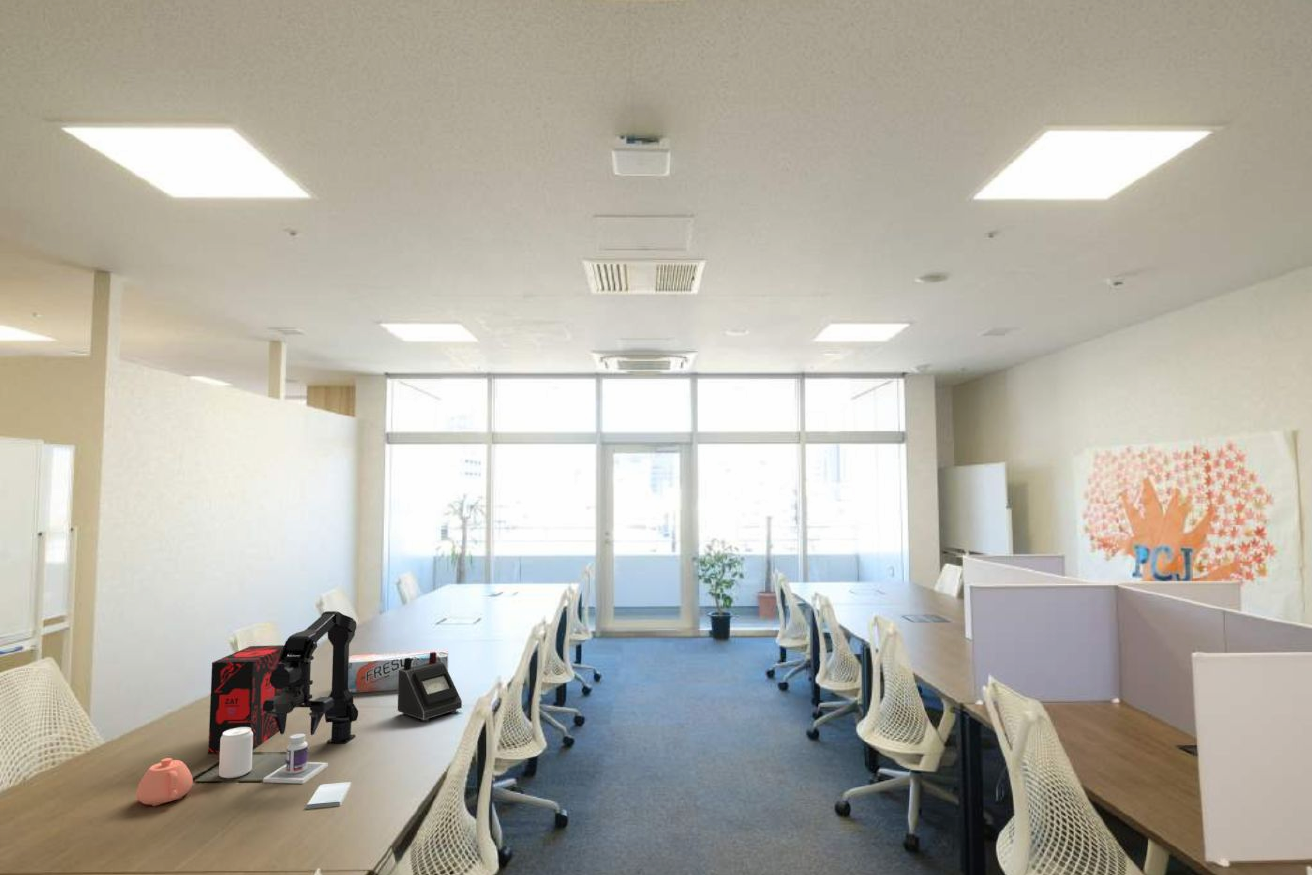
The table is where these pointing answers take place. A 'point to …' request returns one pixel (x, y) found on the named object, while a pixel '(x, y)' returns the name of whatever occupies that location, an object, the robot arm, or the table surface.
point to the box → (243, 694)
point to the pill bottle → (296, 754)
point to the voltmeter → (426, 690)
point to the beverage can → (236, 752)
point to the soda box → (384, 669)
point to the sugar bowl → (164, 782)
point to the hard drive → (329, 795)
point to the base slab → (301, 777)
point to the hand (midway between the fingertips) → (297, 734)
